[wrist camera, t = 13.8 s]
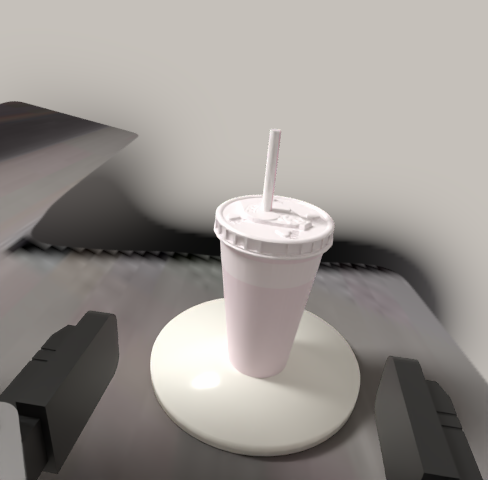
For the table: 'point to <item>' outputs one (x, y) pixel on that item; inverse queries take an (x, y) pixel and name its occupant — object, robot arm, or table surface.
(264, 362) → the smoothie
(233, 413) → the plate
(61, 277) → the table surface
